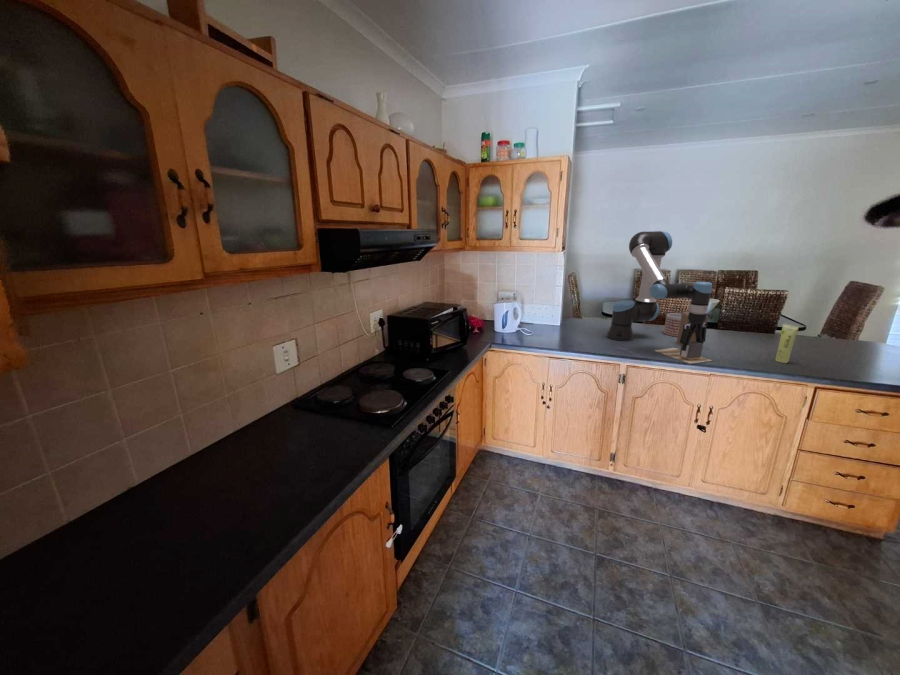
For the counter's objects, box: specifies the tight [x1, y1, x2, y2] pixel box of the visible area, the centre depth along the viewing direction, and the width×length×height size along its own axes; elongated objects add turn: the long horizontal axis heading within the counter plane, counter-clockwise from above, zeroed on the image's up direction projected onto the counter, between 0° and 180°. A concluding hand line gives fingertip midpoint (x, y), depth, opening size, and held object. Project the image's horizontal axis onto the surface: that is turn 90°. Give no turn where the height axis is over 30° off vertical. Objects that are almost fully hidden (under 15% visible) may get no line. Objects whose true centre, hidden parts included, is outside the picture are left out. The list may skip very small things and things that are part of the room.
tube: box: [775, 323, 800, 364], centre depth 179 cm, size 6×5×20 cm
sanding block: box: [680, 341, 704, 360], centre depth 184 cm, size 6×7×8 cm
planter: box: [663, 312, 682, 338], centre depth 230 cm, size 14×14×13 cm
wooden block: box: [676, 311, 709, 347], centre depth 203 cm, size 10×10×20 cm
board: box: [653, 347, 712, 365], centre depth 190 cm, size 22×15×1 cm
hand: (689, 355), depth 185 cm, fingers closed on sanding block, 7 cm apart
